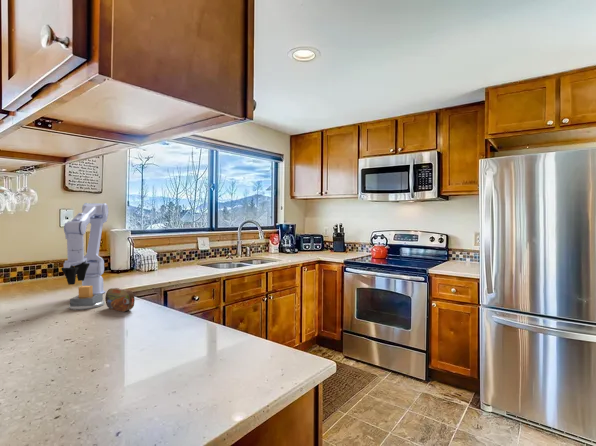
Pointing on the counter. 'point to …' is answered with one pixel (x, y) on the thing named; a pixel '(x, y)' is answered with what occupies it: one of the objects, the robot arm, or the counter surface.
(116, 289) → the tin
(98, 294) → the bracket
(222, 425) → the counter surface
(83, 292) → the tan rectangular prism
